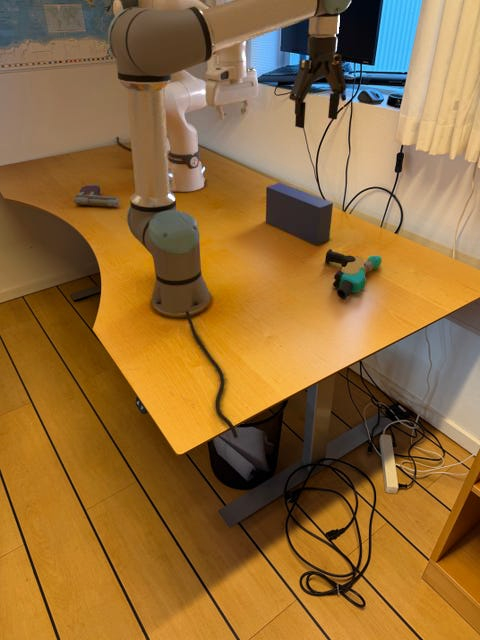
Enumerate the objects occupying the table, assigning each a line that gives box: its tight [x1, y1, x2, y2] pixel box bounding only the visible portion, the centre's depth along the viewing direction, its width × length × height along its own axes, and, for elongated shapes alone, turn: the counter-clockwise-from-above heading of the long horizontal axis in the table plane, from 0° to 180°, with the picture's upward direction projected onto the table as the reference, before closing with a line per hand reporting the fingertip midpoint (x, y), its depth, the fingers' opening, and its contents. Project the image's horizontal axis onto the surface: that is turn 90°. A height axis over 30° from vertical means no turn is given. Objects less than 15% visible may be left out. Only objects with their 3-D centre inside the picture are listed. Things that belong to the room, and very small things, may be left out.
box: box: [265, 182, 334, 246], centre depth 156 cm, size 24×6×13 cm, turn 41°
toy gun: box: [73, 184, 120, 208], centre depth 181 cm, size 4×19×15 cm
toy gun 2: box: [324, 248, 383, 301], centre depth 133 cm, size 4×26×15 cm
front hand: (316, 122), depth 134 cm, fingers open, 13 cm apart
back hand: (233, 116), depth 160 cm, fingers open, 8 cm apart
